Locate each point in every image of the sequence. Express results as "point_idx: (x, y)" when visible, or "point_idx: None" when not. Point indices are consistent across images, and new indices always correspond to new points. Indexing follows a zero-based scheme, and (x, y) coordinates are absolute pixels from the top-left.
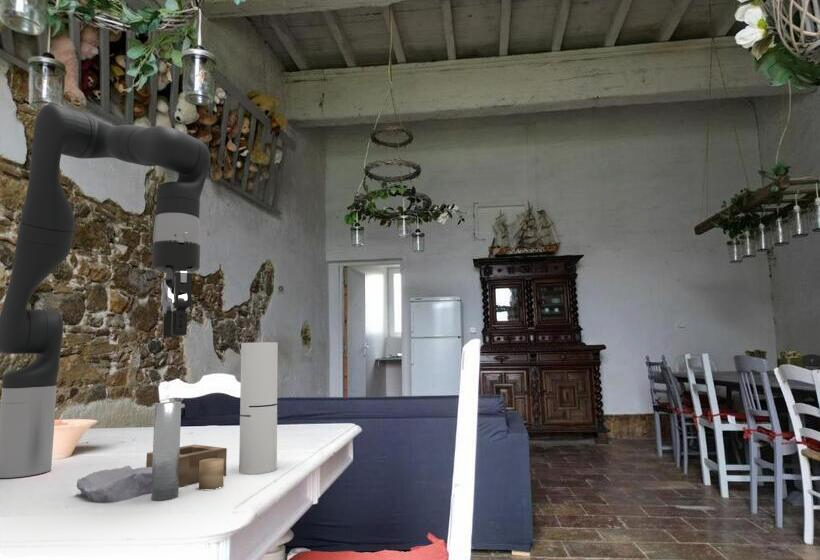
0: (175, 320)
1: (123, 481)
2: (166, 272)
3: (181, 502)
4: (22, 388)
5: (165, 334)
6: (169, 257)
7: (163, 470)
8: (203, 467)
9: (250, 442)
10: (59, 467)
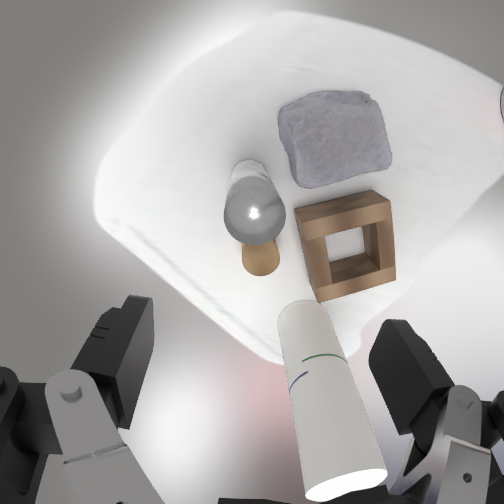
0: (96, 345)
1: (288, 131)
2: None
3: (203, 186)
4: None
5: (388, 329)
6: None
7: (231, 176)
8: None
9: (294, 333)
10: None
